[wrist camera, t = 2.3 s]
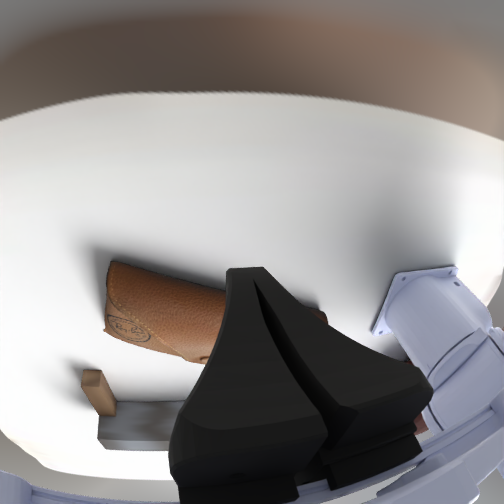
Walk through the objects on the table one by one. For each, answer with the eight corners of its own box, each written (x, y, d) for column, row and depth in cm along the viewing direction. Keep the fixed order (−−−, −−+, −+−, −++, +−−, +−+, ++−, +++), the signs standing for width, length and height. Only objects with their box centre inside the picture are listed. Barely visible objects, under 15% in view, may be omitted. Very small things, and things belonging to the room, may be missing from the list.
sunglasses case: (97, 335, 23) (88, 365, 17) (113, 256, 23) (107, 261, 17) (280, 366, 30) (316, 393, 24) (298, 301, 30) (339, 314, 24)
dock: (344, 349, 31) (363, 385, 26) (324, 394, 35) (337, 426, 31) (83, 370, 25) (76, 412, 21) (108, 413, 30) (106, 449, 26)
